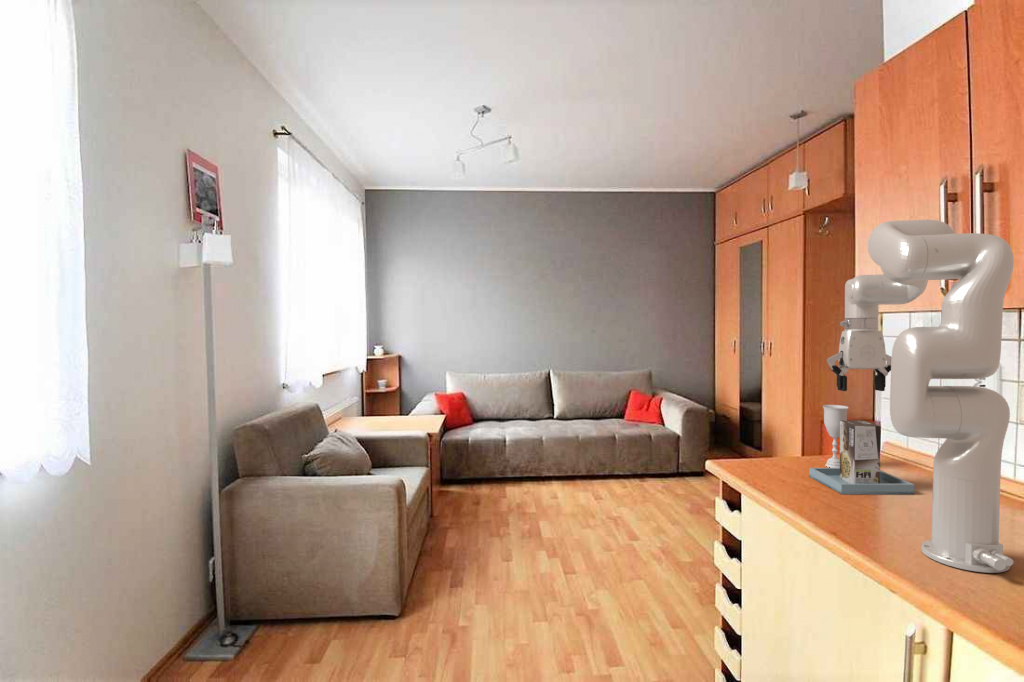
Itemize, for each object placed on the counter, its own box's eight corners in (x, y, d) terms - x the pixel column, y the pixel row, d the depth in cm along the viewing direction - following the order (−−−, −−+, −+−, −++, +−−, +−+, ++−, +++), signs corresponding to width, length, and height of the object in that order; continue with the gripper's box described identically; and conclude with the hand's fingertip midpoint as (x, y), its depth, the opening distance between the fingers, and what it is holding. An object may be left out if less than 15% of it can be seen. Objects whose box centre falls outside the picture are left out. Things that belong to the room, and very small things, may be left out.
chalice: (852, 470, 162) (853, 408, 162) (826, 469, 164) (827, 408, 163) (842, 463, 170) (842, 405, 169) (817, 462, 171) (818, 404, 170)
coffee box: (881, 488, 143) (882, 425, 142) (853, 487, 144) (854, 425, 143) (863, 478, 152) (864, 419, 151) (838, 477, 153) (839, 419, 152)
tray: (914, 494, 140) (914, 484, 139) (841, 494, 140) (841, 484, 140) (874, 476, 156) (874, 467, 155) (809, 476, 156) (809, 467, 156)
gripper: (835, 325, 143) (835, 392, 143) (904, 325, 142) (904, 392, 142) (820, 325, 150) (820, 389, 150) (885, 325, 150) (885, 389, 150)
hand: (860, 390), depth 146 cm, fingers open, 9 cm apart
